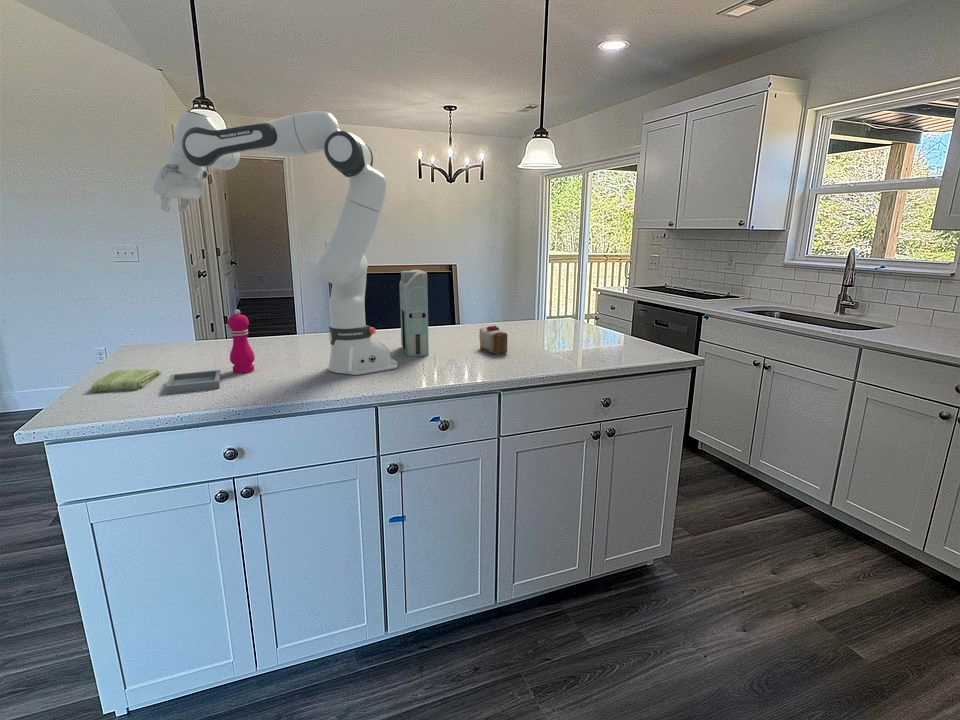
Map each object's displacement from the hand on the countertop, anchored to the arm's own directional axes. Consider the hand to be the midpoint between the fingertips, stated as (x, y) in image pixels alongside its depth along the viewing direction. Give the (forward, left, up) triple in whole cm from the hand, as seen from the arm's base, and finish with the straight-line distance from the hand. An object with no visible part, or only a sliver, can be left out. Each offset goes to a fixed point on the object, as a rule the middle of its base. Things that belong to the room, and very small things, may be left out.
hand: (173, 211), depth 153 cm
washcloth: (+17, +14, -50) cm, 55 cm away
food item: (-102, +20, -50) cm, 115 cm away
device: (-74, +9, -50) cm, 89 cm away
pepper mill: (-15, +14, -50) cm, 54 cm away
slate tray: (-2, +24, -50) cm, 55 cm away
